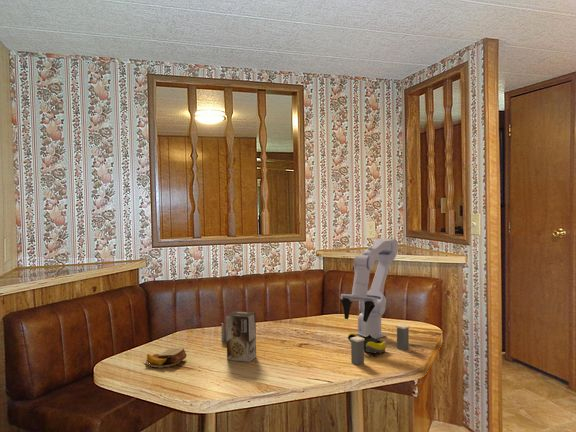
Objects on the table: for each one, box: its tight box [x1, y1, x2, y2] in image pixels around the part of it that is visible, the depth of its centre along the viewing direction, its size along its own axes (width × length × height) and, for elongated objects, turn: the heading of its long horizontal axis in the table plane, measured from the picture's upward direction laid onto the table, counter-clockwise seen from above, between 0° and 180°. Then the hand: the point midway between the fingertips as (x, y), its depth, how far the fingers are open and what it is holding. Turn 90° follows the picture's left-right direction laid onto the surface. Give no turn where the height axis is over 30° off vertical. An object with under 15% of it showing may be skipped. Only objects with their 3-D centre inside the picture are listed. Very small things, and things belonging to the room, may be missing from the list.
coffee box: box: [225, 310, 257, 363], centre depth 155 cm, size 9×6×16 cm
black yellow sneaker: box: [347, 332, 387, 354], centre depth 162 cm, size 15×6×10 cm
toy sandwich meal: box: [145, 347, 187, 369], centre depth 152 cm, size 12×14×5 cm
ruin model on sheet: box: [220, 322, 227, 343], centre depth 177 cm, size 11×3×10 cm, turn 115°
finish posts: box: [350, 323, 410, 366], centre depth 156 cm, size 3×27×9 cm, turn 126°
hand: (355, 320), depth 165 cm, fingers open, 7 cm apart
